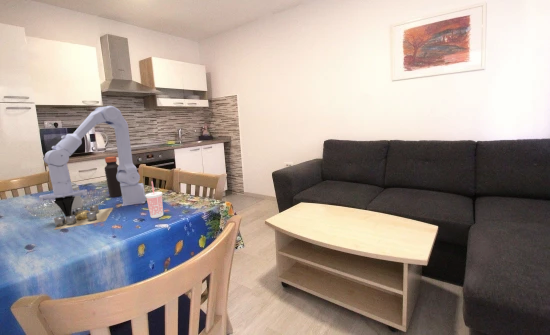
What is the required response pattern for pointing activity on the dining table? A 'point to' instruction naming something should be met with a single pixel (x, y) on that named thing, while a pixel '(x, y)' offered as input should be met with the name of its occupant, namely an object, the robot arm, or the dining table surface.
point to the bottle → (112, 177)
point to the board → (101, 217)
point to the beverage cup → (155, 203)
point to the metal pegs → (72, 218)
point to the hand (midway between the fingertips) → (68, 215)
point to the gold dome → (81, 215)
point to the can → (76, 197)
